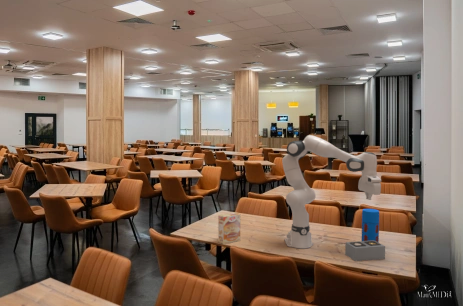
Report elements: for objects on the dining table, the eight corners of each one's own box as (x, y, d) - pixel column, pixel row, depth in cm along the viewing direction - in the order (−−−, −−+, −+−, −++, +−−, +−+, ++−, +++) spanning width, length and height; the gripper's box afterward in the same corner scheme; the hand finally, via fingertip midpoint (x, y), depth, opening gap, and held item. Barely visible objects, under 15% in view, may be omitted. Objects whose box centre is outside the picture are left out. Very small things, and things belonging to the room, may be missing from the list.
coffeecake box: (223, 244, 256) (223, 216, 255) (217, 242, 262) (217, 214, 261) (240, 240, 265) (240, 213, 264) (235, 238, 271) (234, 212, 269)
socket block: (355, 261, 224) (355, 247, 223) (345, 254, 236) (345, 241, 235) (384, 258, 228) (385, 245, 227) (373, 252, 240) (374, 239, 239)
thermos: (372, 250, 244) (373, 212, 242) (358, 246, 252) (358, 210, 251) (381, 247, 250) (382, 210, 248) (367, 243, 259) (368, 207, 257)
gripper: (355, 175, 242) (355, 196, 243) (373, 180, 222) (373, 202, 223) (364, 175, 244) (364, 196, 244) (383, 179, 223) (382, 202, 224)
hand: (368, 199), depth 234 cm, fingers closed
